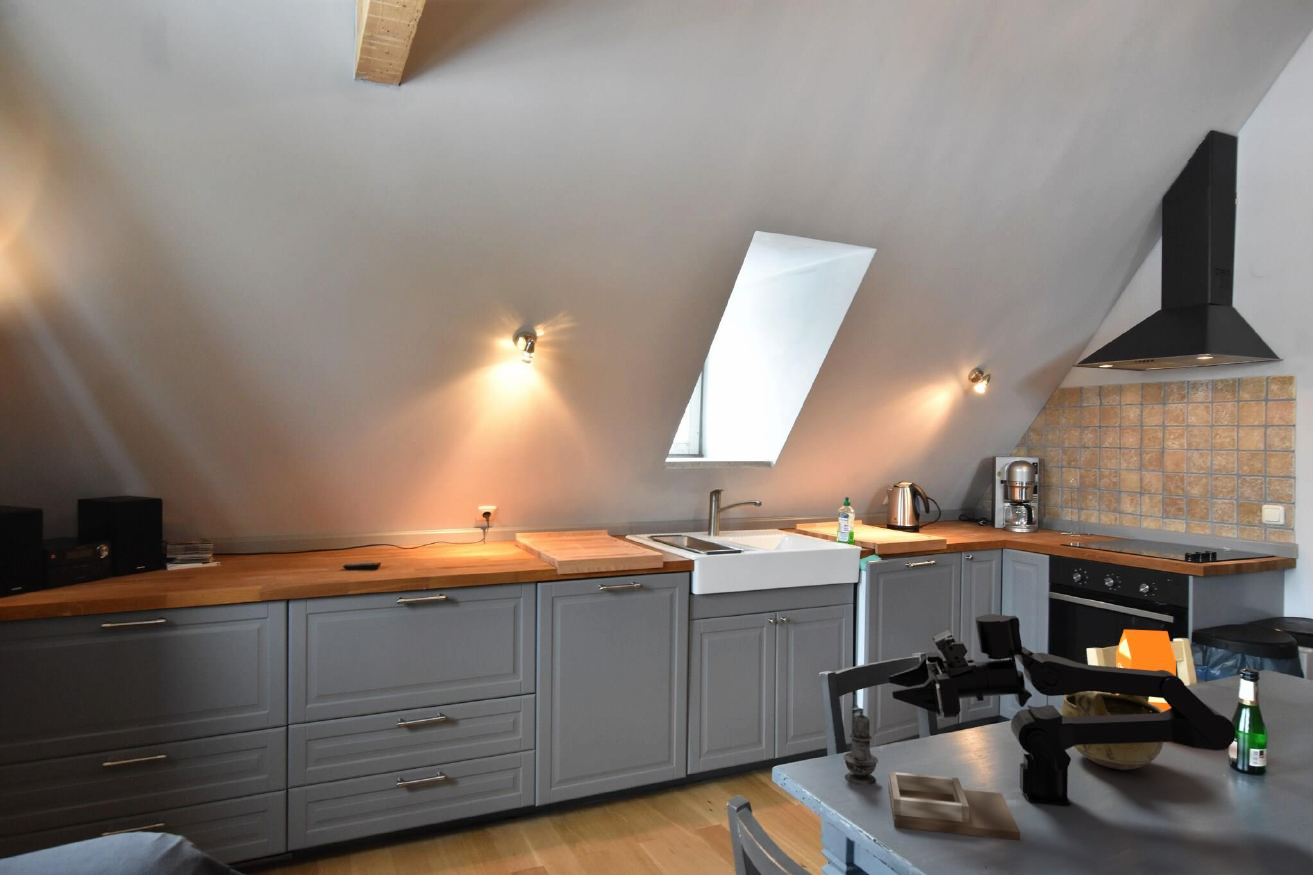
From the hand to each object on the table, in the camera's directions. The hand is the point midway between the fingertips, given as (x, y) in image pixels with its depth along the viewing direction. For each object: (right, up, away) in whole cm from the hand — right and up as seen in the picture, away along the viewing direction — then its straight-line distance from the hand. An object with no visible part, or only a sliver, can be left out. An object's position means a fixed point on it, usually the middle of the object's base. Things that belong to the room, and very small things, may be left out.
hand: (890, 686), depth 143 cm
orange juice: (+63, -18, +31) cm, 72 cm away
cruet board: (+6, -16, -12) cm, 21 cm away
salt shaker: (-5, -17, +1) cm, 17 cm away
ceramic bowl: (+44, -17, +10) cm, 48 cm away
